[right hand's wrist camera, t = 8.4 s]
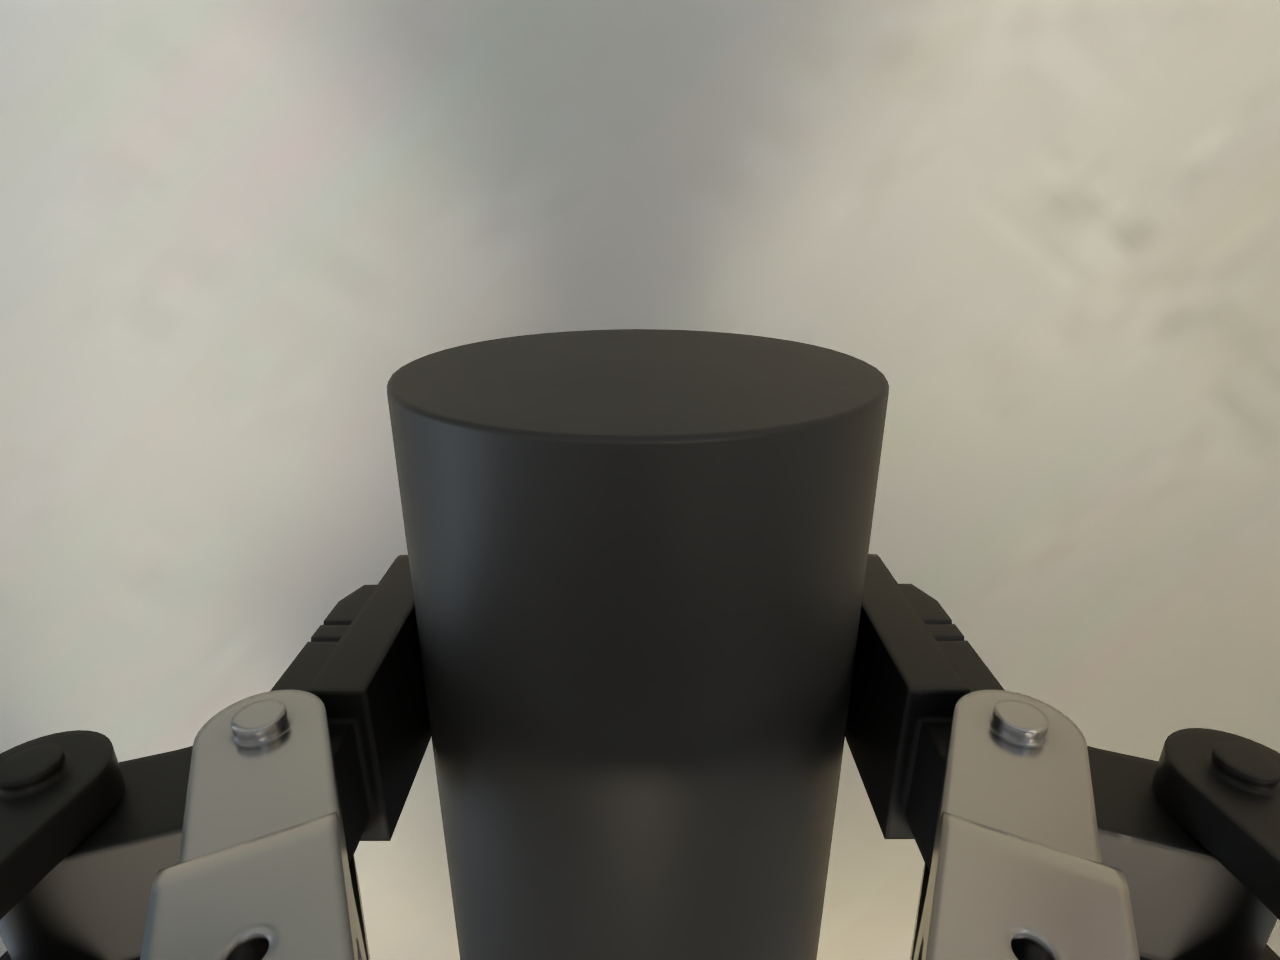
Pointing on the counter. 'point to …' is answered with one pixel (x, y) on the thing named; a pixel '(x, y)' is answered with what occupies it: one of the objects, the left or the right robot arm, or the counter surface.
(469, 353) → the rod
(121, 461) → the counter surface
